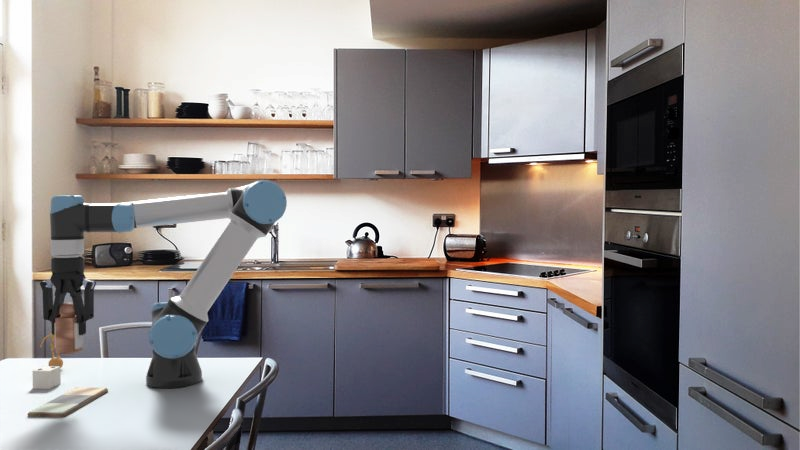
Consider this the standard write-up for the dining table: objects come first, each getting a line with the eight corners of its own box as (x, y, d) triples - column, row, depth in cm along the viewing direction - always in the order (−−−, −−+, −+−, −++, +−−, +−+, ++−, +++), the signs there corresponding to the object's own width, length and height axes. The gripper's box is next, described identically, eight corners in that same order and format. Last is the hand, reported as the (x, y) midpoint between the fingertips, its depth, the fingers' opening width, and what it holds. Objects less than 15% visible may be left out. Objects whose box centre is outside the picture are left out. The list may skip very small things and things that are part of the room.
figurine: (40, 373, 195) (39, 333, 195) (40, 368, 201) (40, 330, 200) (71, 369, 199) (70, 331, 199) (70, 365, 205) (70, 327, 204)
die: (60, 383, 184) (60, 366, 184) (50, 388, 179) (50, 370, 179) (43, 383, 184) (43, 365, 184) (32, 388, 179) (32, 370, 179)
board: (107, 391, 176) (107, 387, 176) (64, 417, 155) (64, 412, 155) (75, 391, 176) (75, 387, 176) (27, 416, 155) (27, 412, 155)
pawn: (82, 350, 167) (81, 301, 167) (72, 354, 163) (72, 303, 162) (65, 349, 167) (64, 301, 167) (55, 353, 163) (55, 303, 163)
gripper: (108, 255, 168) (109, 344, 168) (43, 254, 168) (44, 344, 169) (93, 257, 160) (95, 351, 161) (25, 257, 161) (26, 350, 162)
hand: (69, 347), depth 165 cm, fingers closed on pawn, 4 cm apart
